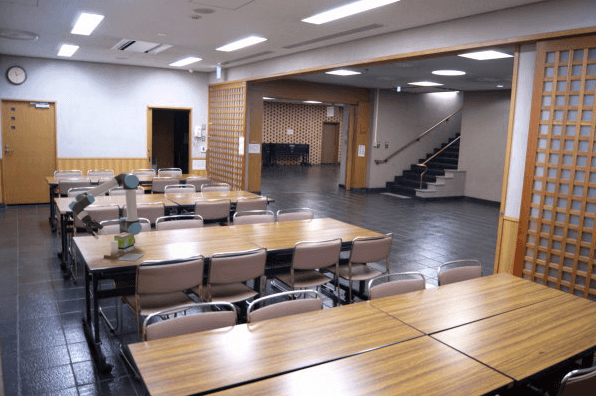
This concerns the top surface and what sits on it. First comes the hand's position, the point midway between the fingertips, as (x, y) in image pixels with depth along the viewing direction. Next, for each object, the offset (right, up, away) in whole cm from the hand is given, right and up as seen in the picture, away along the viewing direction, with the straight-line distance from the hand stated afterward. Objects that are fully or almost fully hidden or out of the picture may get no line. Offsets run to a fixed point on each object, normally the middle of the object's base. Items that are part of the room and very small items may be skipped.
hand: (102, 236), depth 375 cm
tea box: (+11, -14, +19) cm, 26 cm away
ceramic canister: (+9, -14, +1) cm, 16 cm away
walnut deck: (+9, -16, +2) cm, 18 cm away
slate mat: (+23, -17, +1) cm, 29 cm away
